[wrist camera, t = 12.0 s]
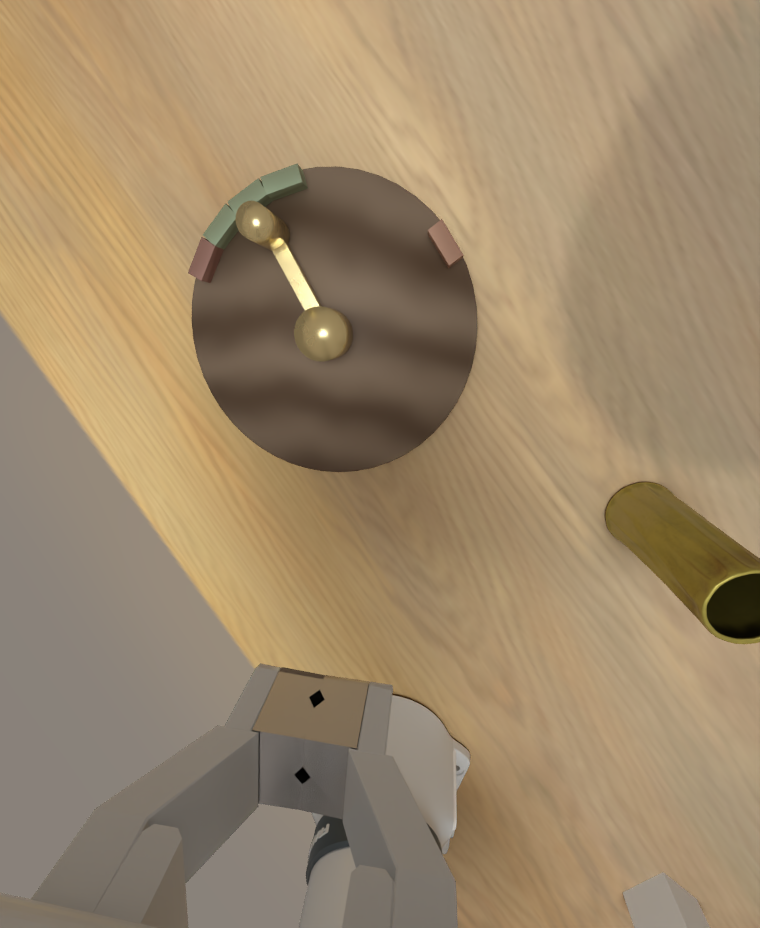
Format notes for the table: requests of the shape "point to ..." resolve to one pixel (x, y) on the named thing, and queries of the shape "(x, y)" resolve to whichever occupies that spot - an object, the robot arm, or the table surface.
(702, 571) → the vase
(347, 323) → the brass dumbbell
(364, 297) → the dial base
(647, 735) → the table surface
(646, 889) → the light grey cube
